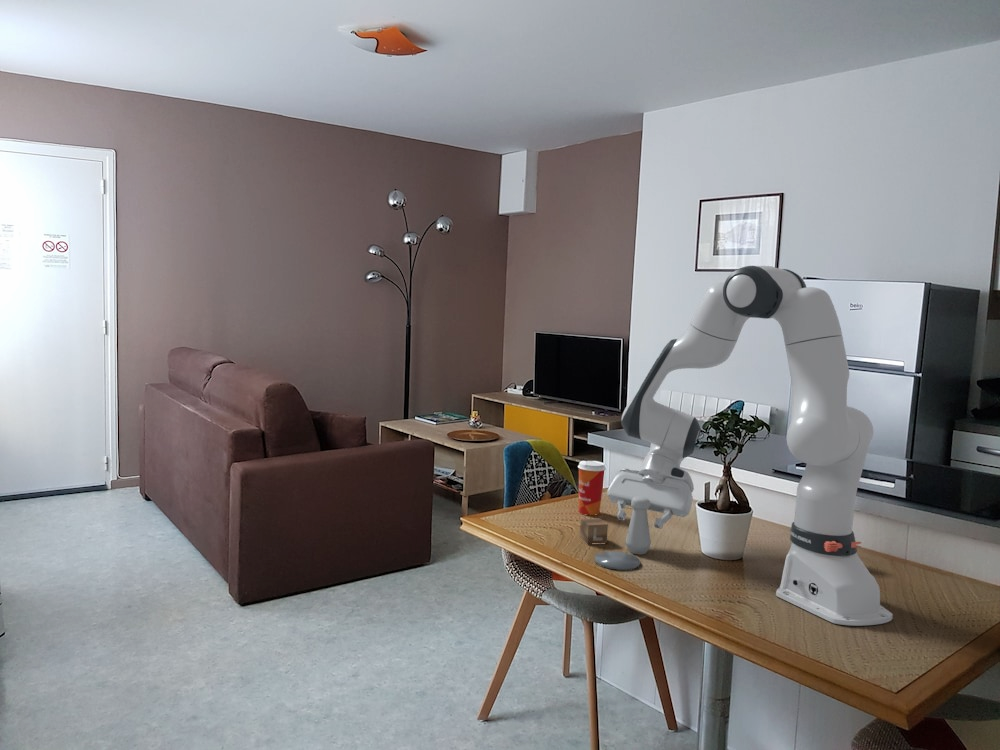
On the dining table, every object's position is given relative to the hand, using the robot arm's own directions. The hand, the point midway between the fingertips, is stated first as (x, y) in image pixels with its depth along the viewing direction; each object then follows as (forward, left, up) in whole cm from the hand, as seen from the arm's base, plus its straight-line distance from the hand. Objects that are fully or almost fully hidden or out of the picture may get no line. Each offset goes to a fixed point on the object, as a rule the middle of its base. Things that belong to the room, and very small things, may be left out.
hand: (638, 522), depth 179 cm
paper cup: (+32, -1, -7) cm, 33 cm away
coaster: (-6, +8, -7) cm, 12 cm away
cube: (+9, +7, -7) cm, 14 cm away
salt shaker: (0, 0, -7) cm, 7 cm away
